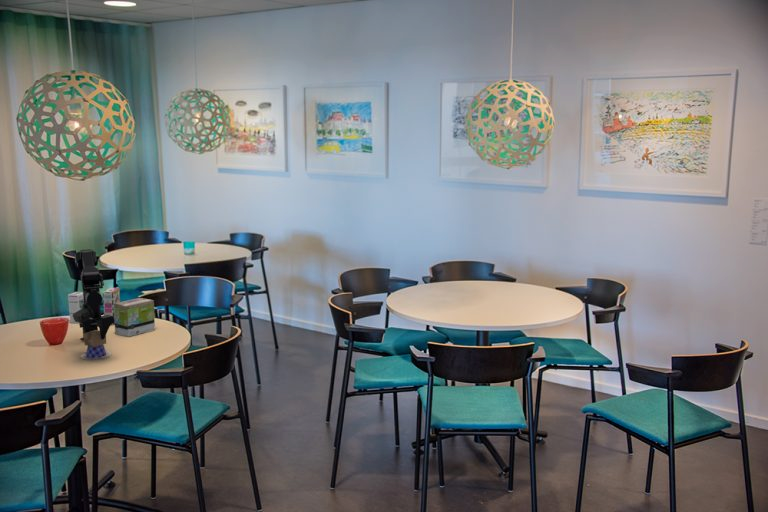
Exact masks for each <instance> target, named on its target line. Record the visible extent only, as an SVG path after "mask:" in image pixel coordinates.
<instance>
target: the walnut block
mask: <svg viewBox="0 0 768 512" xmlns="http://www.w3.org/2000/svg"><path fill="white" fill-rule="evenodd" d="M83 344H84V346H87V347H88V346H90V347H97V346H100V345H104V346H105V345H106V344H107V335H106V336H105V338H104V339H103V340H101V336H100V329H98V330H94V331H90V332H87V333H84V340H83Z"/></svg>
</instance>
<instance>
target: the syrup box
mask: <svg viewBox="0 0 768 512" xmlns="http://www.w3.org/2000/svg"><path fill="white" fill-rule="evenodd" d="M67 299H68V300H67V301H68V310H69V311H68V312H69V322H70V323H71V324H79V322H75V320H74V318H73V316H72V315H73V314H74V313H75V312H77V311H79V310H81V308H82V306H83V304H84V301H83V291H74V292H73V293H69V294H67Z"/></svg>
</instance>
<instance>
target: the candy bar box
mask: <svg viewBox="0 0 768 512" xmlns="http://www.w3.org/2000/svg"><path fill="white" fill-rule="evenodd" d="M120 296H121V293H120V287H109V288H107V289H106V290H104V291H103V292H102V303H103V305H102V306H103V314H104V315H111V316H113V317H114V303H118V302H121V297H120ZM104 315H103V316H104ZM114 318H115V317H114ZM110 326H115V322H114V323H113V324H111V325H110Z"/></svg>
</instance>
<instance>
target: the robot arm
mask: <svg viewBox="0 0 768 512" xmlns="http://www.w3.org/2000/svg"><path fill="white" fill-rule="evenodd" d="M74 262H75V264H76V267H77V268H78V270H79V271H80V272H81V274H80V281H81V290H82V292H83V301H84V304H83V306H82V308H81V310H79V311H77V312H75V313H74V314H73V315H72V316H73V318H74V320H75V322H79V328H82V337H81V338H80V339H79V340H81V341H84V333H87V332H90V331H94V330H99V331H100V336H101V340H103V339H104V338H105V336H106V337H107V333H108V331H109V329H110V327H111V326H112V325H111V324H113V323H114V322H115V318H114V317H113V316H111V315H104V311H103V312H102V306H103V295H102V294H101V291H100V289H103V287H104V286H105V282H104V275H102V272H100V271H99V268H98V267H96V264H95V263H96V262H97V252H96V251H94V250H93V249H89V248H87V249H80V250H79V251H78V252H75V253H74ZM98 328H99V329H98Z"/></svg>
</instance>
